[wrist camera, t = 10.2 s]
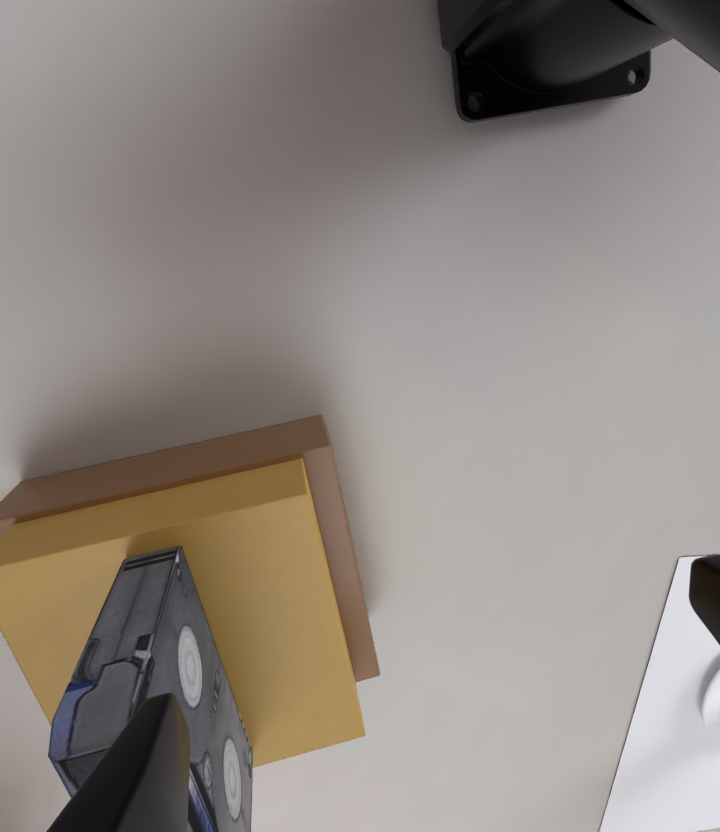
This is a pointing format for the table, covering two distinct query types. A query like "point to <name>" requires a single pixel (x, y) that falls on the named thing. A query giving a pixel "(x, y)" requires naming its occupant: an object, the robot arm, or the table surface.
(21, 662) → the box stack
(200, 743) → the mini dv tape
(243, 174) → the table surface
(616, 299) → the table surface
